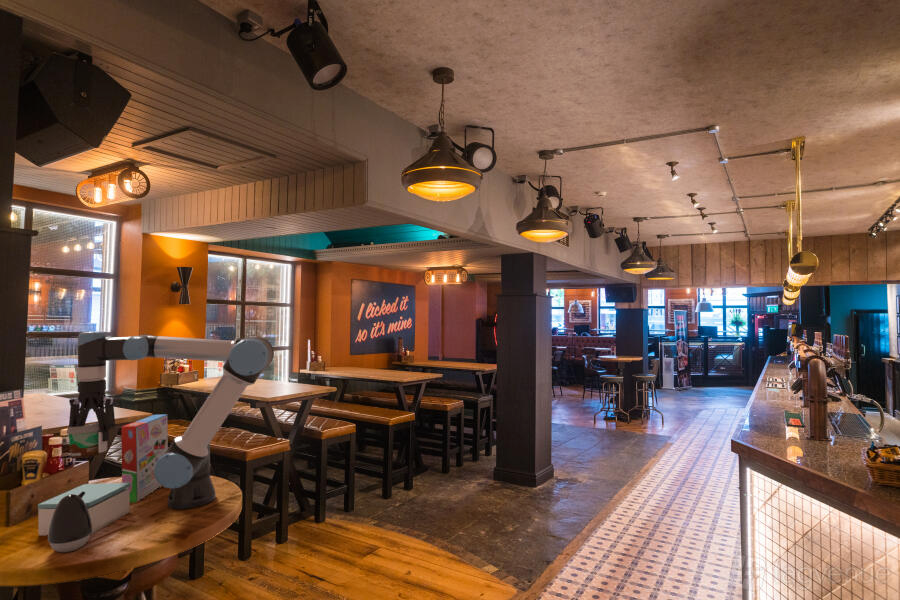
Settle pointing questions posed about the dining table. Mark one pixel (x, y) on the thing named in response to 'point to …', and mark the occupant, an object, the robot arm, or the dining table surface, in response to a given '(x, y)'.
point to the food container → (84, 440)
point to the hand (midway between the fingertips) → (92, 451)
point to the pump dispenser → (70, 524)
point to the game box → (143, 453)
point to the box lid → (88, 493)
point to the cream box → (94, 512)
